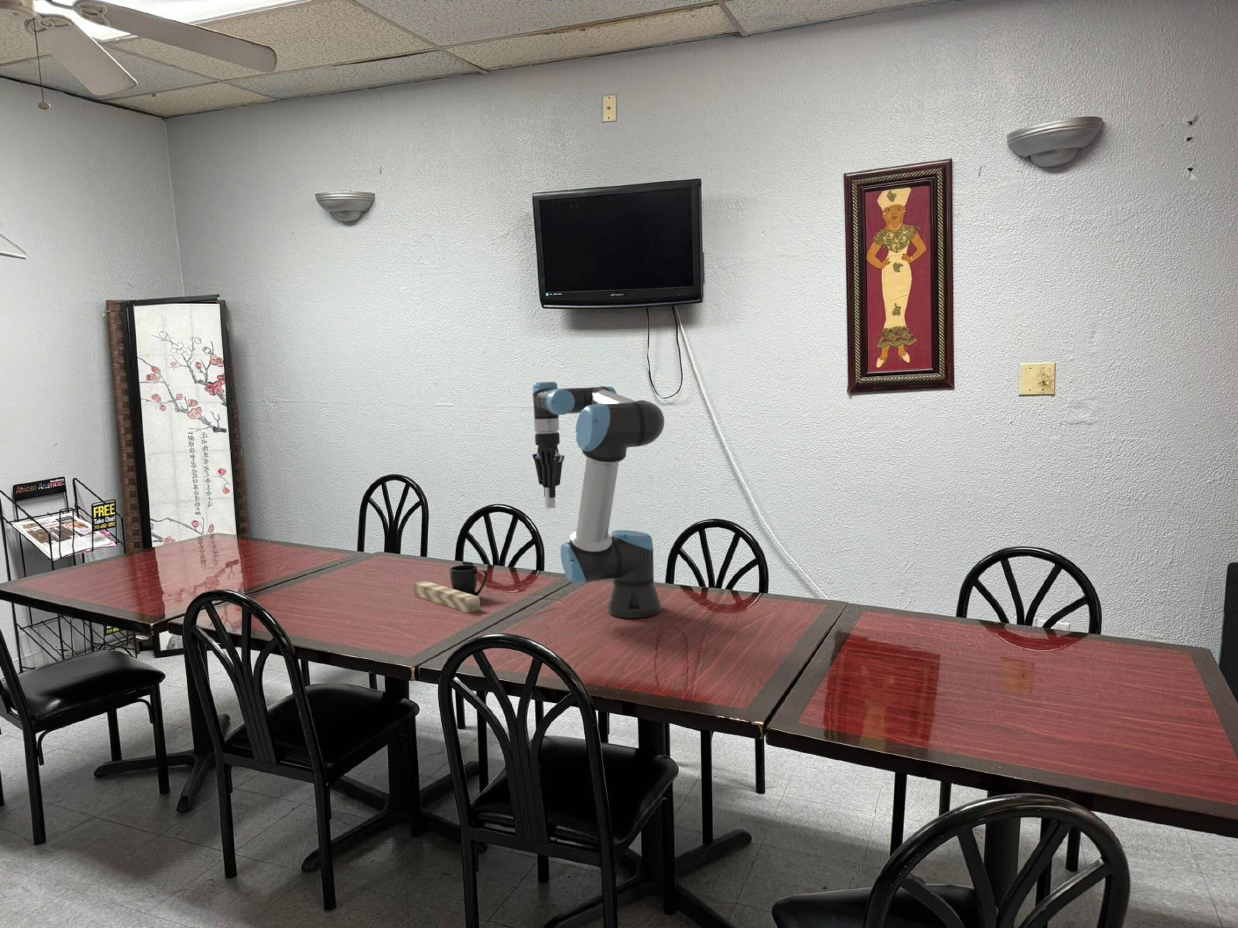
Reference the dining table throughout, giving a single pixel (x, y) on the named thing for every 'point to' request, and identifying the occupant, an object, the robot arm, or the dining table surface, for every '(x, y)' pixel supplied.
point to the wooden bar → (447, 596)
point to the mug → (466, 578)
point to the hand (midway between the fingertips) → (550, 507)
